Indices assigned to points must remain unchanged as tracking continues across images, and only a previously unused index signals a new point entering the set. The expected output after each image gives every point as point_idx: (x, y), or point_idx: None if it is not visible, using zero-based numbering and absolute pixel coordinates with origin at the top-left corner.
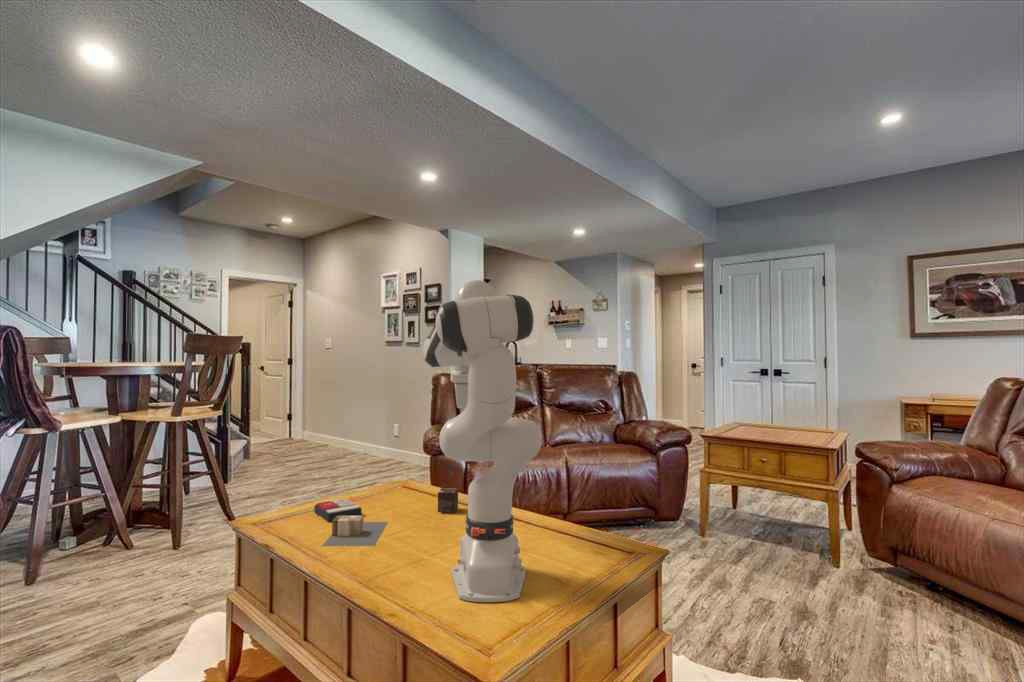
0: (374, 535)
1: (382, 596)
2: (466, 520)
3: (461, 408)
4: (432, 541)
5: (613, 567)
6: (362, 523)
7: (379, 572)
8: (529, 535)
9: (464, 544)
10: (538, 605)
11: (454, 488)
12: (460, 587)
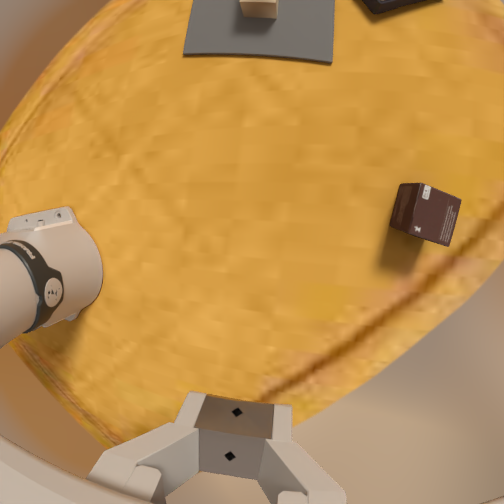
0: (241, 42)
1: (27, 119)
2: (3, 244)
3: (101, 470)
4: (202, 165)
5: (99, 422)
6: (268, 9)
7: (84, 92)
8: (218, 367)
9: (17, 233)
10: None
11: (448, 236)
12: (21, 220)
